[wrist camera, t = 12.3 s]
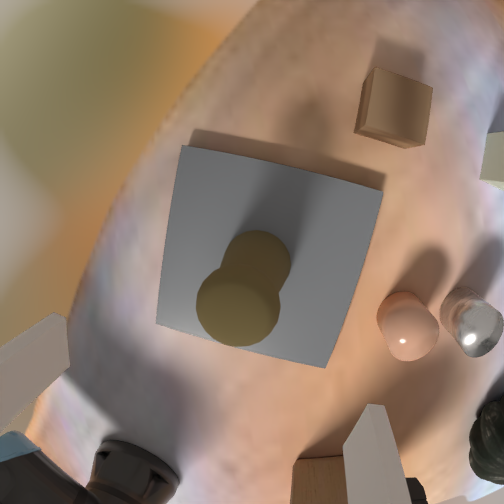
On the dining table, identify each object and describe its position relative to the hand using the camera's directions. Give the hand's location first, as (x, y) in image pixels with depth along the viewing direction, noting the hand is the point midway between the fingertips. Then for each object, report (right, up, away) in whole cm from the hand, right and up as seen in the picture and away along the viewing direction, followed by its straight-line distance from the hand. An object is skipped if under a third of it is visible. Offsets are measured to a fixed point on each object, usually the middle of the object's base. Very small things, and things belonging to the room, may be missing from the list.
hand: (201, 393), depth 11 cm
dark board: (+3, +5, +18) cm, 19 cm away
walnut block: (+14, +18, +13) cm, 26 cm away
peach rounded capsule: (+17, -1, +18) cm, 24 cm away
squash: (+39, -18, +19) cm, 47 cm away
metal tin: (+24, 0, +16) cm, 29 cm away
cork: (+2, +5, +17) cm, 18 cm away
